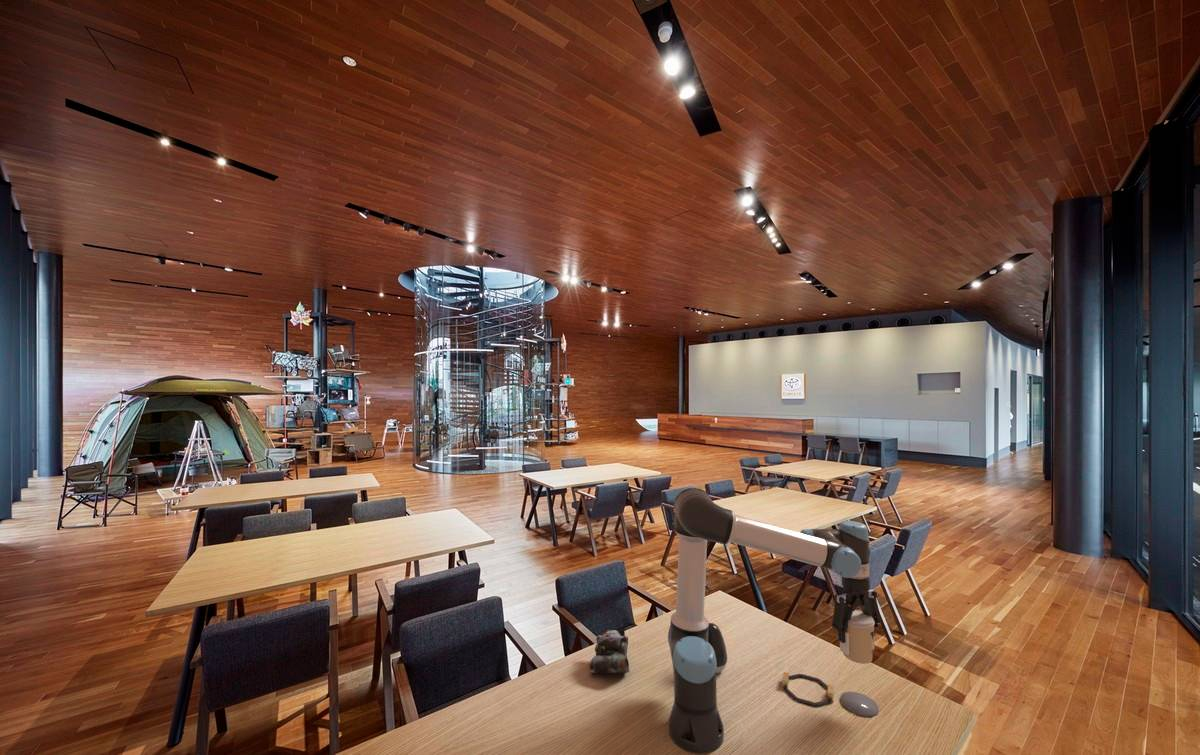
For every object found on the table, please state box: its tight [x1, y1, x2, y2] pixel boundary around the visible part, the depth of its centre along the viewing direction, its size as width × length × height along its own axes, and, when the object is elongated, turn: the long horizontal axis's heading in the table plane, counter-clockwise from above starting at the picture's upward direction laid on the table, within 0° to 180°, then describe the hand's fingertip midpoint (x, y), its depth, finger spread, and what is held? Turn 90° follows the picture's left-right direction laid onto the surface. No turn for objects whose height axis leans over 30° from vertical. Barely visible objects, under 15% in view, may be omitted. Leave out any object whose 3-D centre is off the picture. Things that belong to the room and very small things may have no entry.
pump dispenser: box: [708, 622, 728, 674], centre depth 156 cm, size 10×10×15 cm
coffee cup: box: [842, 609, 875, 665], centre depth 138 cm, size 9×9×12 cm
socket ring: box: [781, 671, 835, 708], centre depth 144 cm, size 14×14×2 cm
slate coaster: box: [839, 691, 880, 718], centre depth 137 cm, size 10×10×1 cm
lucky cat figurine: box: [588, 628, 630, 674], centre depth 157 cm, size 15×12×14 cm
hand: (857, 649), depth 138 cm, fingers closed on coffee cup, 9 cm apart
